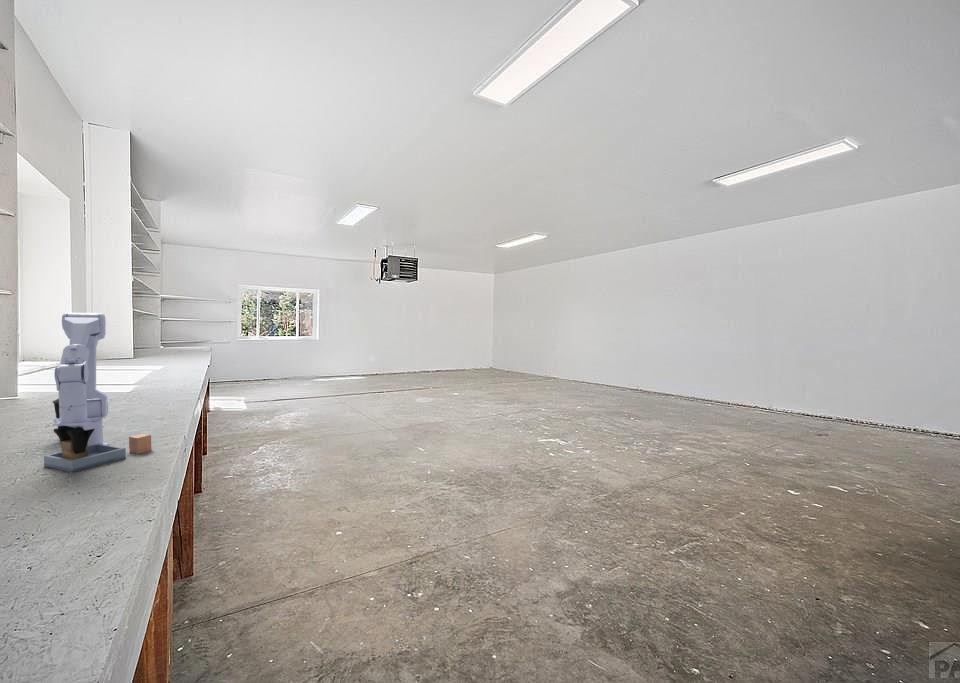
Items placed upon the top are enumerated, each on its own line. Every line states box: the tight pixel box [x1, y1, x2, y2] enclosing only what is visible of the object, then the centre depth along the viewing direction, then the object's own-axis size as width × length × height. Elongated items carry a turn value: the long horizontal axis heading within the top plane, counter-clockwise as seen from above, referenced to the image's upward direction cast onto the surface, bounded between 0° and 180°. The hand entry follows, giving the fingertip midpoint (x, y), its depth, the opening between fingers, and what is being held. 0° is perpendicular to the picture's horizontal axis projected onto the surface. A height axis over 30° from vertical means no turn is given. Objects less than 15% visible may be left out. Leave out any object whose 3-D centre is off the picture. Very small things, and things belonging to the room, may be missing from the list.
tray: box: [43, 444, 127, 473], centre depth 124 cm, size 13×13×3 cm
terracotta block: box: [128, 433, 152, 454], centre depth 135 cm, size 4×4×5 cm
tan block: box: [61, 440, 88, 460], centre depth 121 cm, size 4×4×5 cm
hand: (75, 451), depth 122 cm, fingers closed on tan block, 4 cm apart
